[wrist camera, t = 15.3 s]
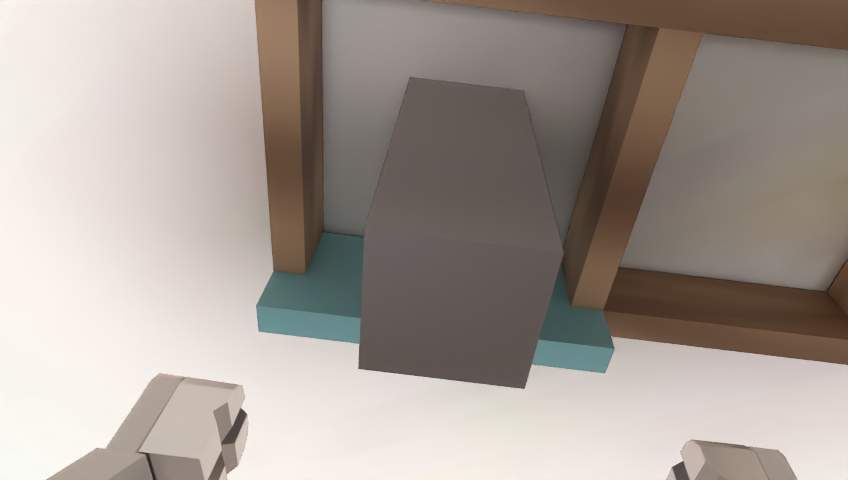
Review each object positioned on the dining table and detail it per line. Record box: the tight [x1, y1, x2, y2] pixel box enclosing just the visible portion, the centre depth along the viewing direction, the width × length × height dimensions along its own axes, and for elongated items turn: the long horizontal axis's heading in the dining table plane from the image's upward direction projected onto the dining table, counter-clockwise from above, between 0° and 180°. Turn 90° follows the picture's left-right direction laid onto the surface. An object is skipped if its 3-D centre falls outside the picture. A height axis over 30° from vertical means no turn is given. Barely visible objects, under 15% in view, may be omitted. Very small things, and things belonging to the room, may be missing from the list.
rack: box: [255, 0, 848, 373], centre depth 18 cm, size 12×35×5 cm, turn 84°
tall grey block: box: [358, 77, 564, 389], centre depth 16 cm, size 4×4×10 cm
